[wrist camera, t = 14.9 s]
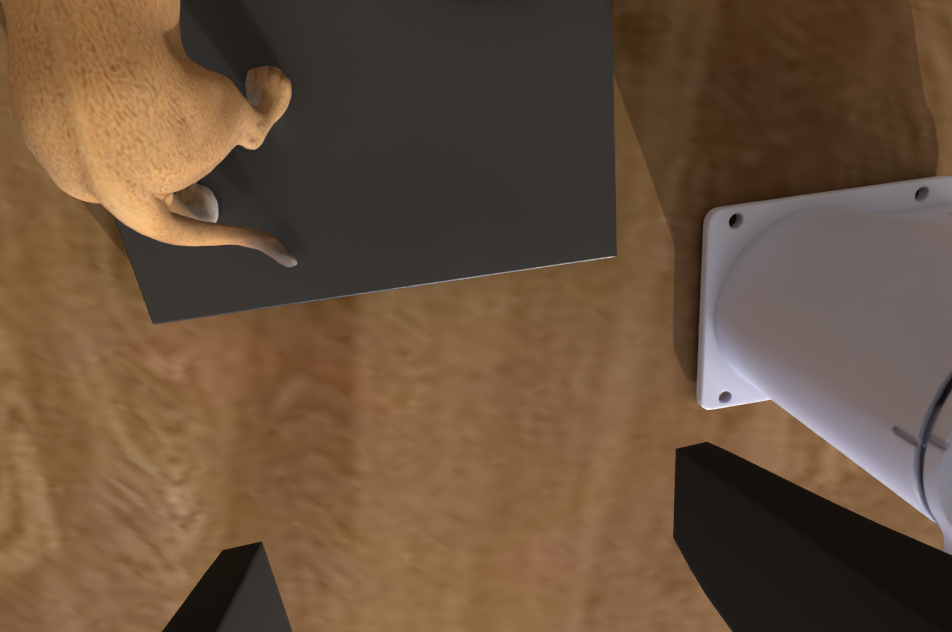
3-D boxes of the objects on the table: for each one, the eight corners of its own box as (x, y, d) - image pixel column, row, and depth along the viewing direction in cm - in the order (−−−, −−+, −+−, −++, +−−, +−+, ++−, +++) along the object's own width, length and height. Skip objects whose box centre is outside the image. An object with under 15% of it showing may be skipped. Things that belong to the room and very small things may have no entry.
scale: (592, -279, 14) (640, -384, 11) (606, 249, 19) (641, 271, 16) (-22, -238, 12) (-147, -343, 10) (168, 312, 17) (123, 348, 15)
